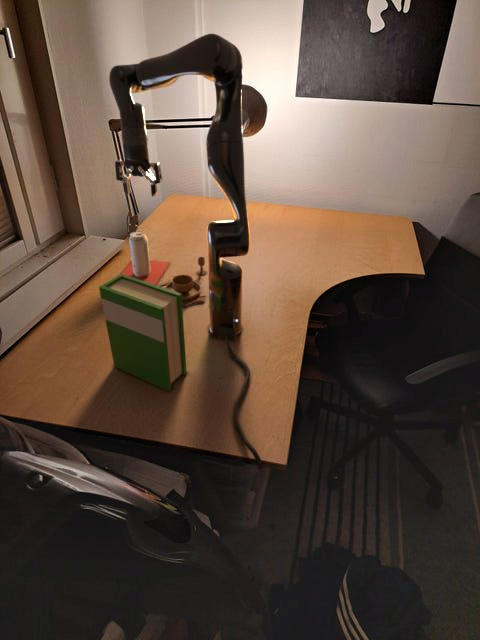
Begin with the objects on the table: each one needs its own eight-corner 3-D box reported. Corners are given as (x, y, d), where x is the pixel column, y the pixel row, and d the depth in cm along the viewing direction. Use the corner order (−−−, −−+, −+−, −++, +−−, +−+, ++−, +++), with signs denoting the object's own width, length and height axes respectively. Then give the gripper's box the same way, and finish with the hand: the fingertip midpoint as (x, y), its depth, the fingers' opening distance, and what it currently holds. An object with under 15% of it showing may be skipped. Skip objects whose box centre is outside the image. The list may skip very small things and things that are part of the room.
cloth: (152, 290, 141) (152, 289, 141) (112, 286, 143) (112, 285, 142) (169, 263, 157) (169, 262, 157) (133, 260, 159) (133, 259, 159)
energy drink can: (134, 269, 152) (129, 230, 143) (151, 269, 152) (147, 230, 144) (132, 278, 147) (127, 238, 139) (150, 277, 148) (145, 237, 139)
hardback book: (186, 373, 108) (181, 293, 94) (169, 391, 103) (160, 309, 89) (133, 351, 115) (121, 273, 101) (114, 366, 110) (99, 287, 96)
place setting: (153, 287, 143) (152, 271, 140) (201, 270, 154) (201, 255, 150) (182, 309, 132) (181, 293, 129) (232, 289, 143) (232, 274, 139)
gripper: (107, 143, 125) (115, 197, 134) (154, 146, 123) (159, 200, 133) (117, 137, 131) (124, 189, 140) (161, 140, 130) (165, 192, 139)
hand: (141, 194), depth 137 cm, fingers open, 8 cm apart
